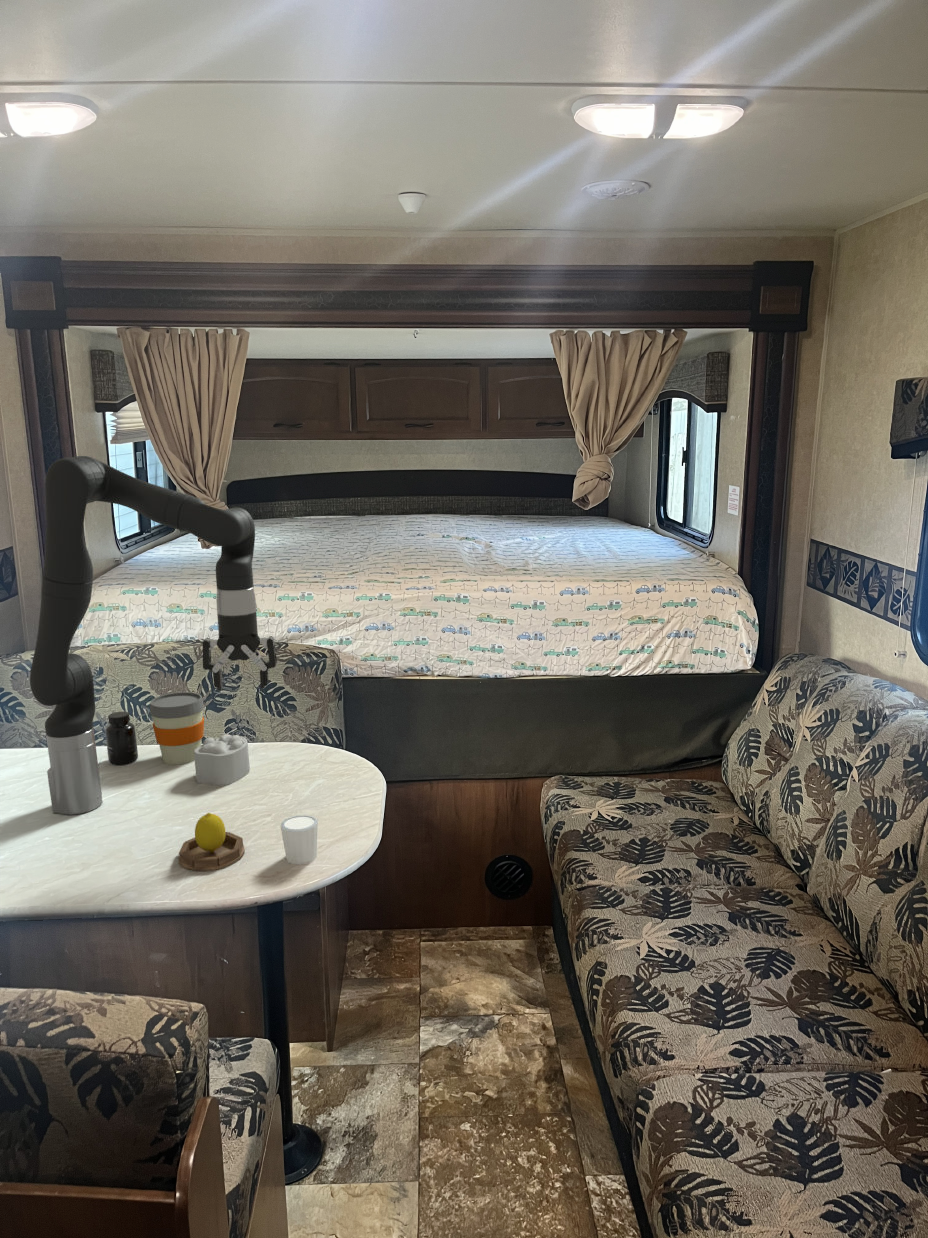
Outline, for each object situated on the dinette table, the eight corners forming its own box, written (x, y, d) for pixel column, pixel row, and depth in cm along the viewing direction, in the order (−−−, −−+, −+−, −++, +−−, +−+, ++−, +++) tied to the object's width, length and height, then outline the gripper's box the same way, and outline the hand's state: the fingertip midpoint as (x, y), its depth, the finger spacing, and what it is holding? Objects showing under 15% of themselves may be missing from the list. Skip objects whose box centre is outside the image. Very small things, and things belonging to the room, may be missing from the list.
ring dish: (172, 873, 157) (171, 863, 157) (186, 842, 169) (185, 833, 168) (239, 869, 158) (238, 859, 158) (249, 838, 170) (248, 829, 170)
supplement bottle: (103, 765, 210) (97, 718, 207) (118, 755, 216) (113, 709, 214) (129, 766, 209) (123, 719, 206) (144, 756, 215) (138, 710, 213)
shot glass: (324, 848, 165) (322, 814, 164) (314, 866, 158) (312, 831, 157) (289, 848, 166) (286, 814, 164) (278, 865, 159) (275, 830, 158)
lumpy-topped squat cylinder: (190, 782, 199) (186, 746, 197) (223, 761, 211) (220, 727, 209) (228, 787, 195) (225, 751, 193) (260, 766, 207) (257, 731, 205)
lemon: (197, 847, 166) (194, 808, 164) (227, 844, 167) (224, 805, 165) (195, 861, 160) (192, 821, 159) (226, 857, 162) (223, 818, 160)
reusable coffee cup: (153, 753, 217) (147, 696, 214) (205, 745, 222) (199, 689, 218) (157, 770, 206) (150, 710, 202) (211, 761, 210) (206, 702, 207)
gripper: (196, 615, 167) (202, 695, 171) (271, 613, 168) (275, 692, 172) (203, 607, 174) (209, 684, 178) (275, 605, 176) (279, 681, 179)
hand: (241, 688), depth 175 cm, fingers open, 8 cm apart
